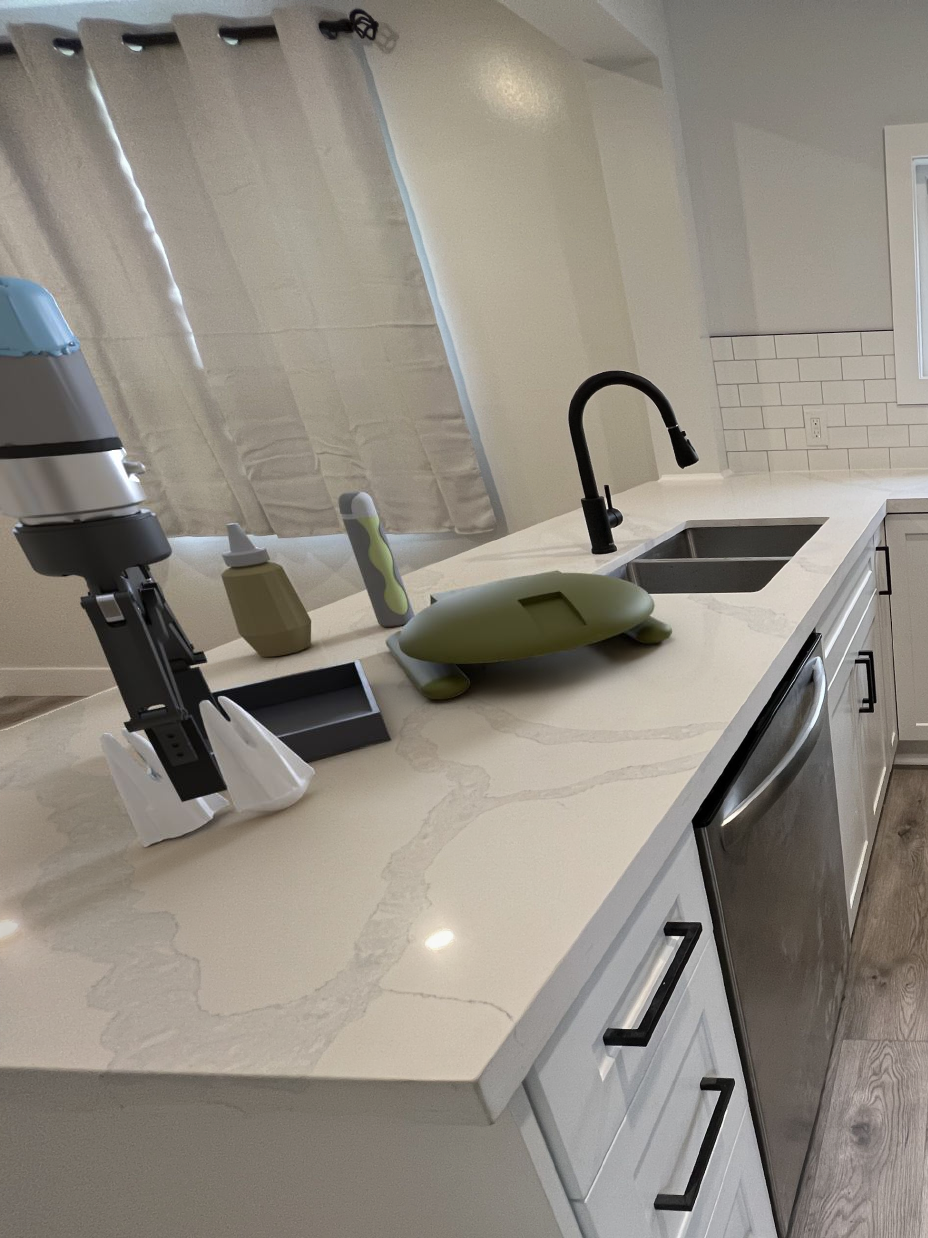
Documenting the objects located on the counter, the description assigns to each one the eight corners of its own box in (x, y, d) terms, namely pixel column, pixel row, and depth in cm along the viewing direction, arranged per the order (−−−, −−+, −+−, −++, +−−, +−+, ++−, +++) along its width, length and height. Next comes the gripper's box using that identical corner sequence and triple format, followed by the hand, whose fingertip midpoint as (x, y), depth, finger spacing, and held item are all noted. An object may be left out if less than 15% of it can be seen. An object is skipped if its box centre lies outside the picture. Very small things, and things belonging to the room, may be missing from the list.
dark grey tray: (198, 723, 86) (185, 697, 85) (368, 683, 95) (359, 659, 94) (187, 795, 71) (171, 764, 70) (390, 739, 80) (380, 711, 79)
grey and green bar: (423, 620, 119) (379, 490, 111) (392, 629, 115) (344, 495, 107) (403, 617, 121) (359, 489, 113) (372, 626, 117) (323, 494, 109)
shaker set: (324, 787, 72) (277, 679, 67) (316, 807, 68) (266, 695, 64) (157, 825, 66) (93, 711, 62) (140, 849, 63) (71, 731, 58)
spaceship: (385, 648, 107) (361, 581, 103) (603, 600, 126) (590, 541, 122) (440, 724, 83) (410, 641, 79) (699, 651, 102) (686, 580, 98)
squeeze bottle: (234, 660, 105) (174, 530, 97) (288, 640, 112) (237, 518, 105) (283, 661, 104) (226, 530, 96) (334, 641, 111) (286, 518, 103)
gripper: (135, 530, 49) (266, 805, 58) (164, 489, 67) (261, 705, 76) (-38, 550, 45) (132, 843, 54) (41, 500, 63) (160, 729, 72)
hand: (208, 763), depth 65 cm, fingers open, 13 cm apart
